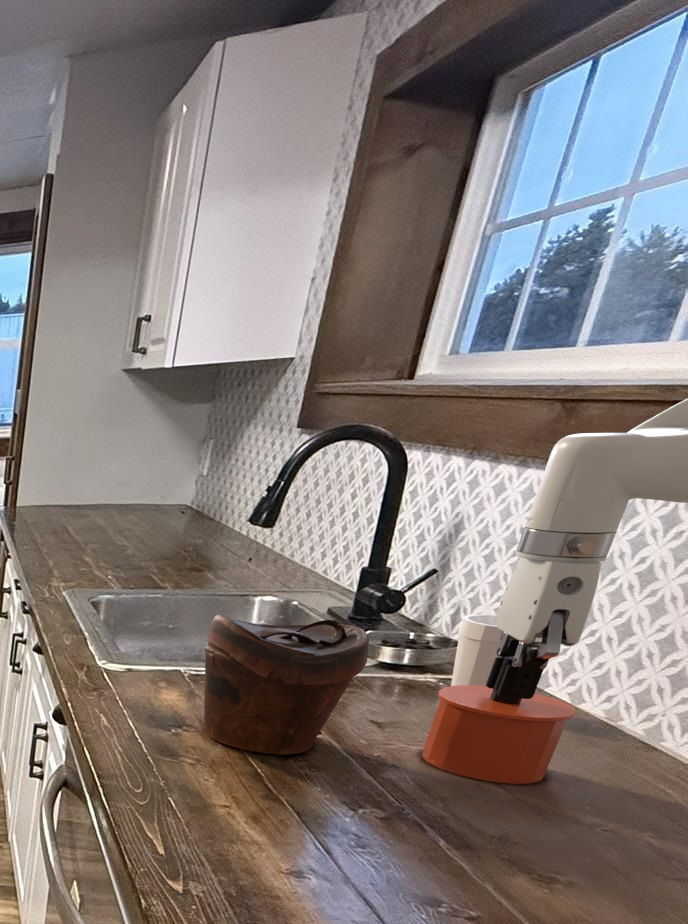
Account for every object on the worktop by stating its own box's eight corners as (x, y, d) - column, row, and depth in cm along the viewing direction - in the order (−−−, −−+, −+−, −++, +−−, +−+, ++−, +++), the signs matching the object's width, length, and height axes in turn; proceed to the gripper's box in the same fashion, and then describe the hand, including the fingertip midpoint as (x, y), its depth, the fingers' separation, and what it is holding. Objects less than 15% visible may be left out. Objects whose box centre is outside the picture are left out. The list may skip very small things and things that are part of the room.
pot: (520, 755, 110) (544, 695, 107) (561, 789, 100) (588, 724, 97) (410, 744, 115) (429, 686, 112) (439, 775, 105) (461, 713, 102)
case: (370, 745, 115) (410, 619, 108) (285, 775, 107) (322, 642, 100) (239, 709, 130) (267, 596, 123) (156, 733, 122) (181, 614, 115)
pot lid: (545, 698, 107) (565, 649, 105) (594, 731, 97) (617, 678, 94) (422, 688, 112) (437, 642, 110) (455, 719, 102) (473, 668, 100)
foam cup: (525, 704, 127) (557, 621, 122) (507, 717, 122) (539, 632, 117) (446, 689, 134) (473, 611, 129) (426, 701, 130) (453, 620, 125)
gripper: (646, 557, 88) (579, 717, 96) (573, 536, 102) (519, 677, 109) (552, 555, 92) (494, 710, 99) (493, 534, 105) (446, 672, 112)
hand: (508, 691), depth 104 cm, fingers closed on pot lid, 2 cm apart
